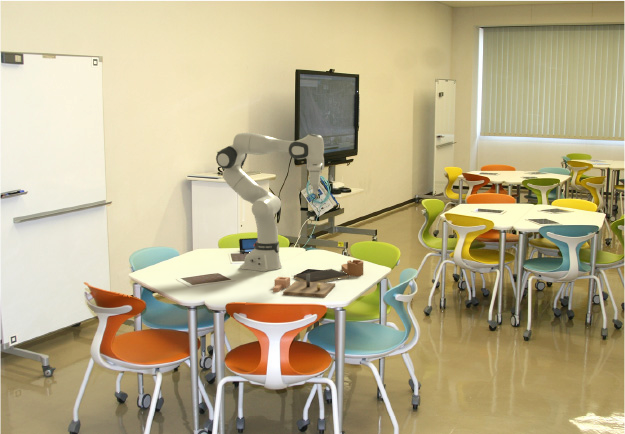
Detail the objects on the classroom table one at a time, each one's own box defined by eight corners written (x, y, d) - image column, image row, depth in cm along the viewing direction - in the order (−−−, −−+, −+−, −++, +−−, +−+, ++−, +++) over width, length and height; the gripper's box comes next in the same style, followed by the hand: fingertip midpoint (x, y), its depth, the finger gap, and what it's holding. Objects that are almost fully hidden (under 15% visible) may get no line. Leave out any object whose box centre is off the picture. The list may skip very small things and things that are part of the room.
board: (283, 294, 329) (283, 291, 329) (295, 284, 348) (295, 281, 348) (324, 297, 324) (324, 294, 324) (335, 286, 343) (335, 283, 343)
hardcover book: (348, 278, 359) (348, 274, 358) (310, 286, 346) (310, 281, 346) (330, 272, 372) (330, 268, 372) (293, 279, 360) (293, 275, 359)
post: (305, 287, 336) (305, 274, 335) (306, 286, 338) (306, 273, 337) (309, 287, 336) (309, 275, 335) (310, 286, 338) (310, 274, 337)
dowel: (316, 290, 330) (316, 284, 330) (317, 289, 332) (317, 283, 331) (319, 290, 330) (319, 284, 329) (320, 289, 331) (320, 283, 331)
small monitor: (241, 254, 419) (240, 242, 417) (239, 250, 429) (238, 238, 428) (262, 253, 421) (261, 240, 420) (259, 249, 432) (259, 237, 430)
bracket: (365, 275, 363) (365, 262, 362) (350, 277, 361) (350, 263, 360) (354, 268, 380) (354, 255, 379) (339, 269, 378) (339, 256, 377)
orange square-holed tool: (269, 291, 335) (269, 283, 335) (278, 284, 348) (278, 276, 347) (281, 292, 334) (281, 284, 333) (290, 285, 346) (290, 277, 345)
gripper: (310, 164, 371) (311, 190, 374) (307, 167, 351) (308, 195, 353) (322, 164, 371) (322, 190, 373) (320, 167, 351) (320, 195, 353)
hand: (315, 192), depth 363 cm, fingers open, 8 cm apart
